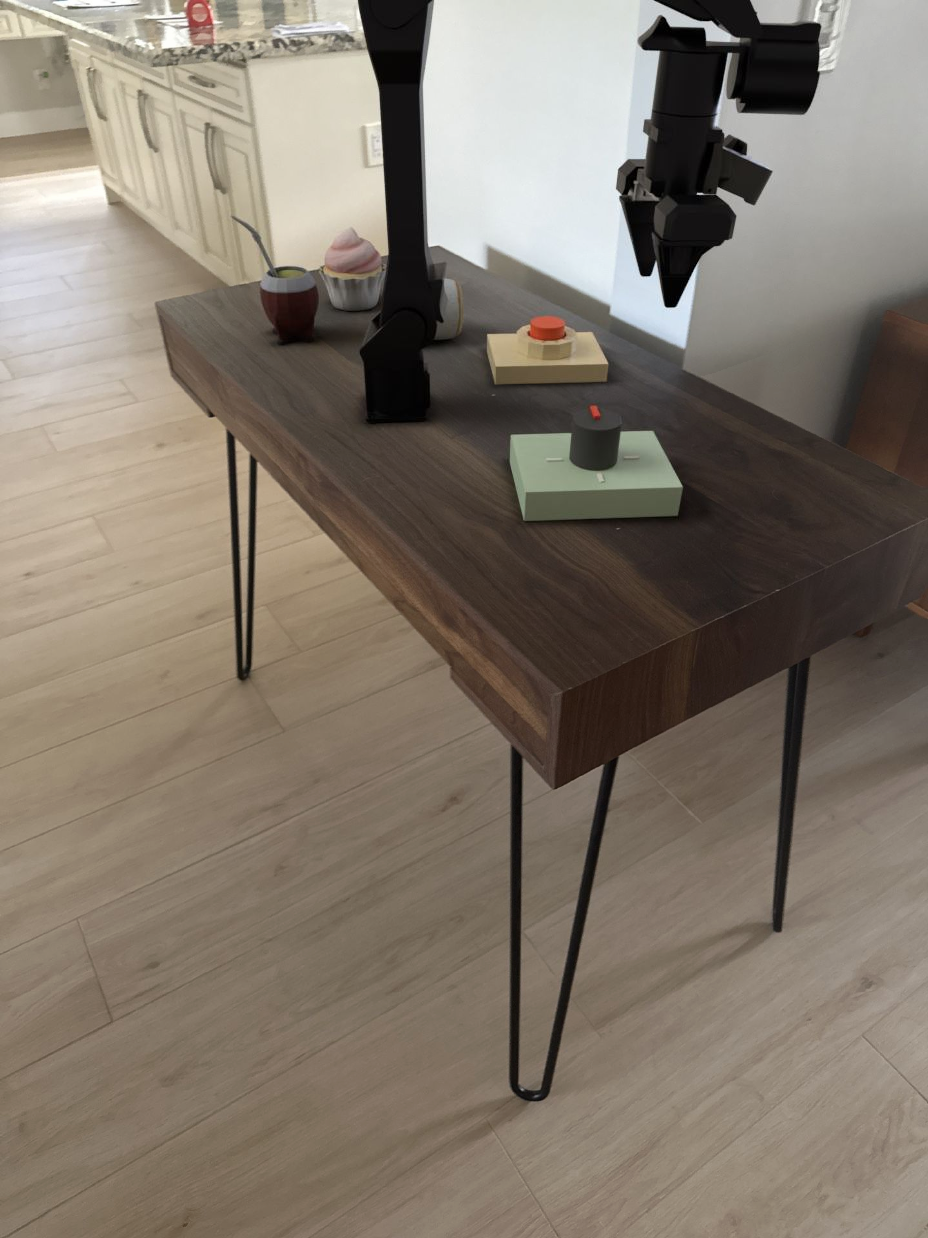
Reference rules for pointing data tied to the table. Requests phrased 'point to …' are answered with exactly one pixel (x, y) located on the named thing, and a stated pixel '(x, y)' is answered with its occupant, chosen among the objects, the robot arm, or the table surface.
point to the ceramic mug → (451, 312)
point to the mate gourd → (287, 297)
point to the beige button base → (546, 358)
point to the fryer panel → (593, 479)
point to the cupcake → (352, 272)
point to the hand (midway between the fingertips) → (657, 290)
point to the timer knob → (595, 439)
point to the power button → (547, 328)
